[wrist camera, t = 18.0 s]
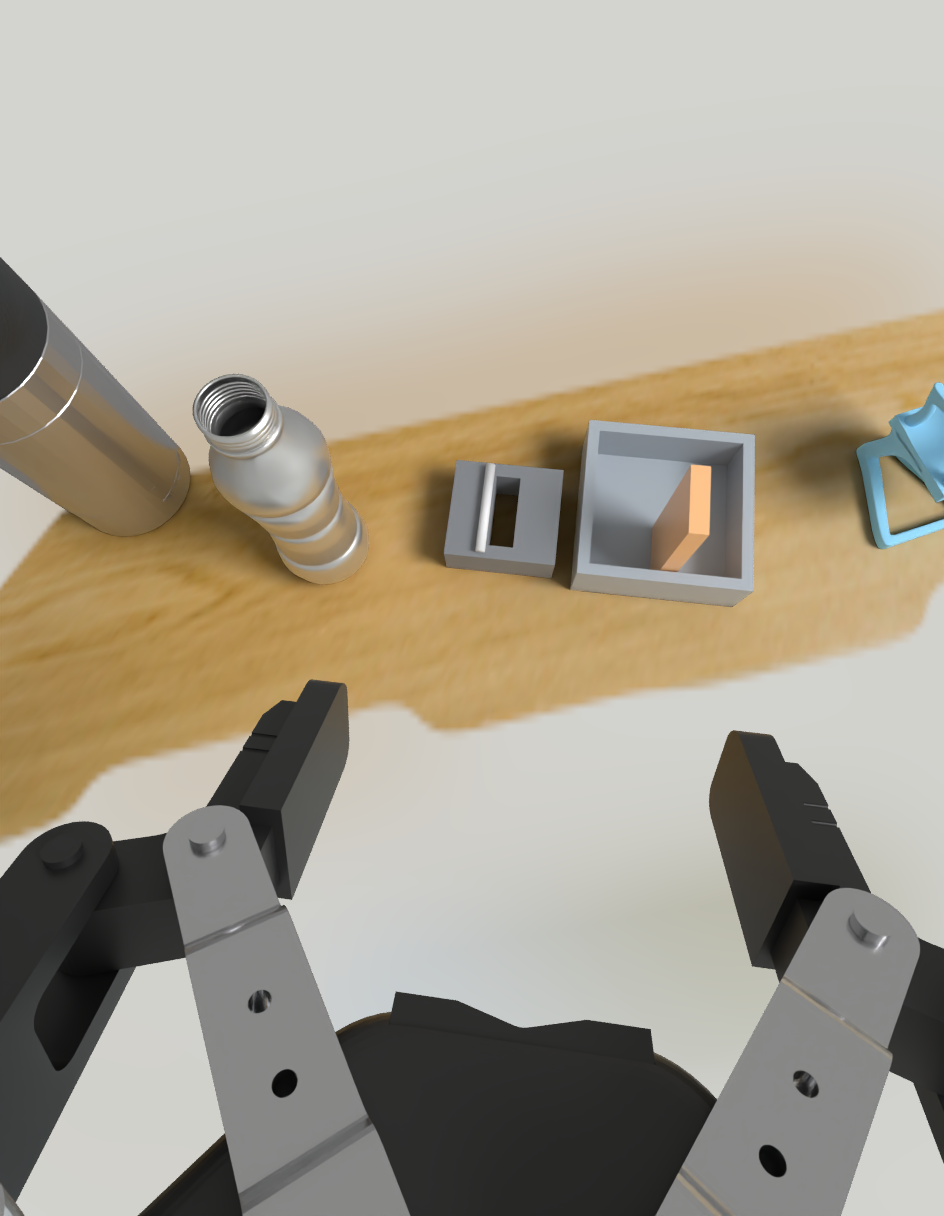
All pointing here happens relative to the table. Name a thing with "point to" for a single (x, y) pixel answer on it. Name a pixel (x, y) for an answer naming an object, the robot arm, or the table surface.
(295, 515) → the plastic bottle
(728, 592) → the tray
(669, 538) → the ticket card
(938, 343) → the table surface
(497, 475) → the ticket dispenser
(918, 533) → the chair
